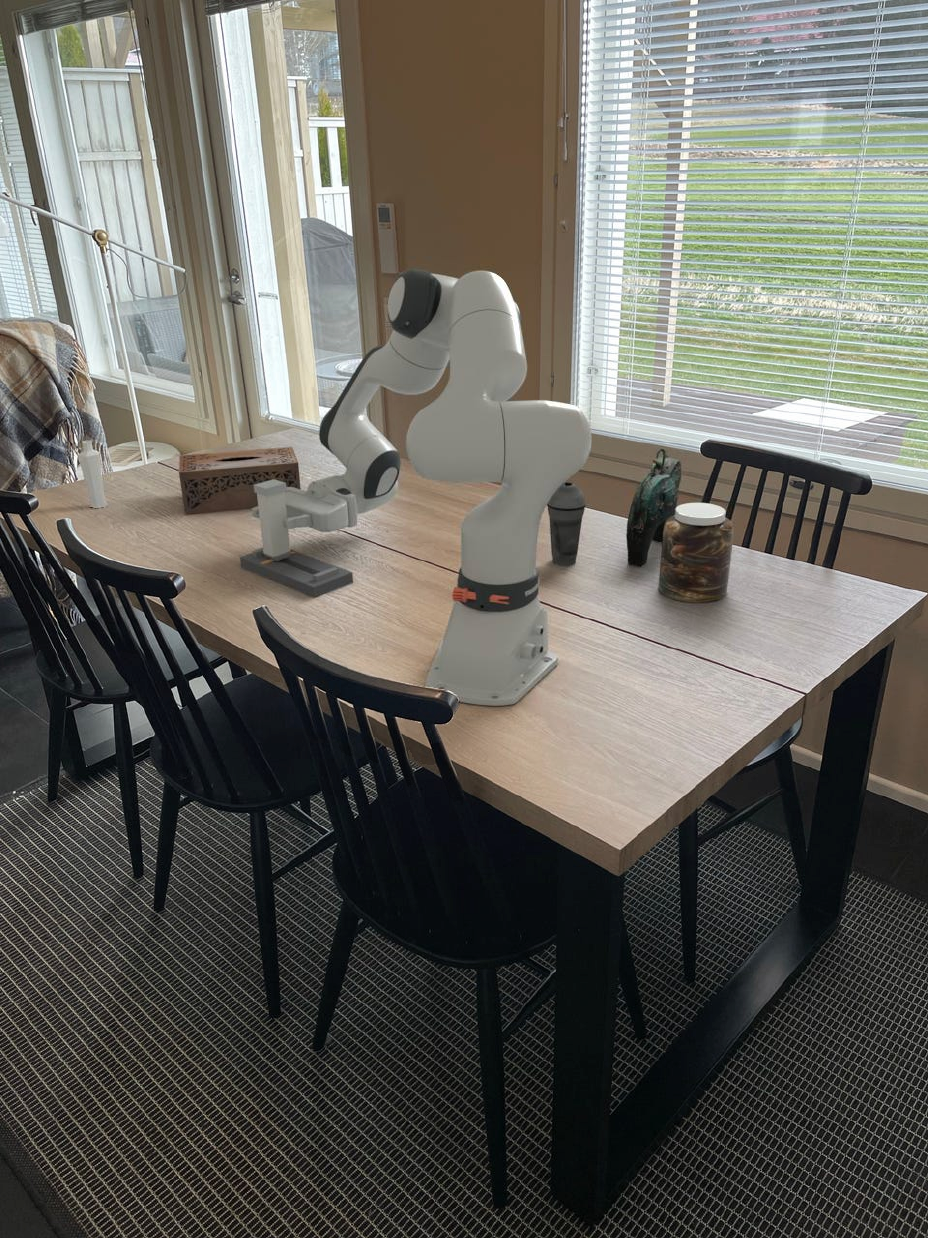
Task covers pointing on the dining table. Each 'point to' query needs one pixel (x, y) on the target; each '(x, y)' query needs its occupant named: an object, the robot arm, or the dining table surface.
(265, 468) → the tissue box cover
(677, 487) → the dark green arched sculpture
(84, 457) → the perfume bottle
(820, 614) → the dining table surface
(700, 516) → the jar
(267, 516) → the fader tab
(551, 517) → the beverage cup
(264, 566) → the fader console
